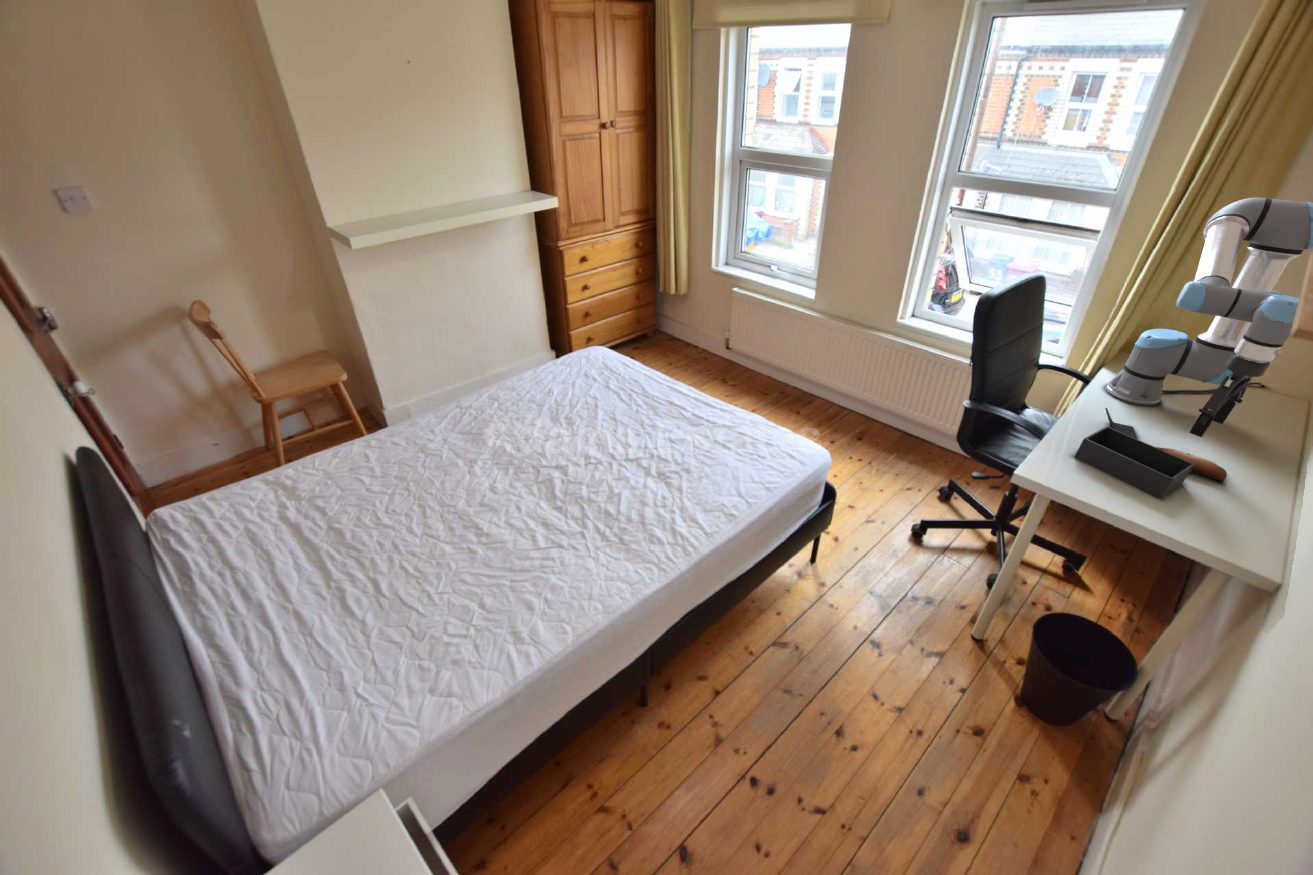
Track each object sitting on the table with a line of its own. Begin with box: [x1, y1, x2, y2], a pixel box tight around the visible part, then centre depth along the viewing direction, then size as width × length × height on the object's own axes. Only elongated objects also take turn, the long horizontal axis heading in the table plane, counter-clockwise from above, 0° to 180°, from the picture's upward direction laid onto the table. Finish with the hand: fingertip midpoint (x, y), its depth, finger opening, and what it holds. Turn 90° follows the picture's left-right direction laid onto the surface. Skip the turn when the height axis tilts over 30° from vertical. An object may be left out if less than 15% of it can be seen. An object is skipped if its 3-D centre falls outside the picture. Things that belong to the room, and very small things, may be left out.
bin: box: [1074, 425, 1195, 500], centre depth 161 cm, size 13×22×7 cm, turn 31°
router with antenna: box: [1104, 407, 1138, 439], centre depth 177 cm, size 12×7×10 cm
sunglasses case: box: [1155, 446, 1228, 483], centre depth 164 cm, size 18×7×7 cm
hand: (1206, 428), depth 158 cm, fingers open, 13 cm apart
